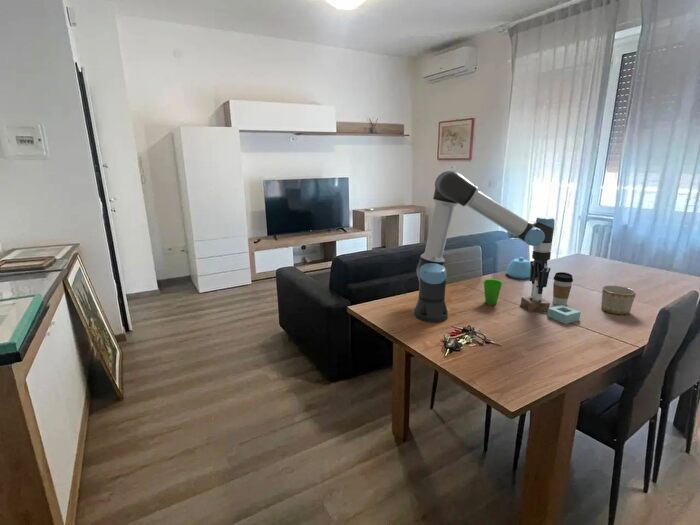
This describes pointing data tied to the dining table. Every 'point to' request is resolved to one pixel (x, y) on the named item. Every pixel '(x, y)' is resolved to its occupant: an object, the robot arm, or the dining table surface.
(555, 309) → the teal square ring
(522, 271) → the sugar bowl
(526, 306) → the brown square wooden ring
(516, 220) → the robot arm
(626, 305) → the planter
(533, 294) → the pale grey rod
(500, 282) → the cup
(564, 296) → the coffee cup
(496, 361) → the dining table surface
